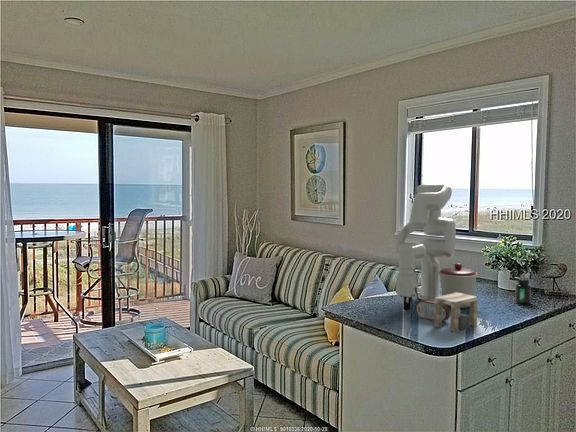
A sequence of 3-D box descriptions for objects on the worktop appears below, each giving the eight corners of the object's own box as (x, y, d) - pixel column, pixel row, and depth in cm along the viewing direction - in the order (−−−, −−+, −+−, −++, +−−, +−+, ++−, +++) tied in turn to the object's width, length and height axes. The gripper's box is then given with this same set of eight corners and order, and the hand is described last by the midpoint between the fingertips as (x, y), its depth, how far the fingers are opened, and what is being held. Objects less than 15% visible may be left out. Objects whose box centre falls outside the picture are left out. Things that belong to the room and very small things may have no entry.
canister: (481, 311, 211) (481, 267, 210) (441, 309, 215) (441, 266, 213) (473, 301, 229) (474, 260, 227) (436, 300, 232) (436, 259, 231)
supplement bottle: (523, 305, 220) (524, 281, 219) (512, 302, 226) (512, 278, 225) (533, 304, 222) (534, 280, 222) (522, 300, 229) (522, 277, 228)
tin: (450, 322, 196) (450, 303, 195) (447, 323, 193) (447, 304, 193) (417, 315, 206) (417, 297, 205) (414, 317, 203) (414, 299, 203)
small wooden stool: (434, 326, 190) (434, 297, 189) (456, 320, 198) (456, 292, 197) (455, 332, 181) (455, 302, 181) (476, 325, 190) (477, 296, 189)
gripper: (389, 270, 214) (389, 308, 215) (414, 275, 202) (414, 315, 203) (400, 268, 218) (400, 305, 219) (425, 273, 206) (425, 312, 207)
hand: (407, 310), depth 211 cm, fingers closed
